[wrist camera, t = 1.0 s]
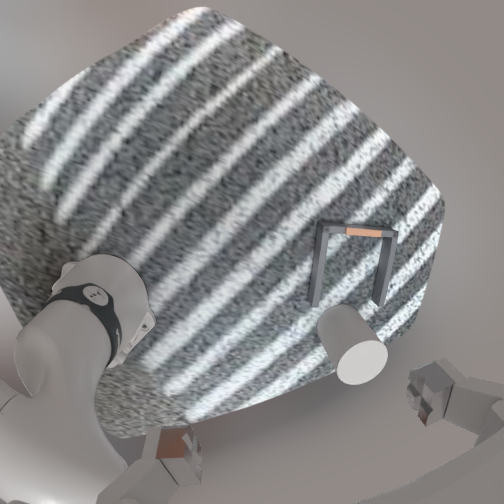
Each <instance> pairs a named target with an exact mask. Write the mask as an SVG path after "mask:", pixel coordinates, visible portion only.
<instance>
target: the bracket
mask: <svg viewBox="0 0 504 504" xmlns="http://www.w3.org/2000/svg"><path fill="white" fill-rule="evenodd" d="M329 233H341V234H346V235H359V236H372V237H383V243H382V249H381V255H380V260H379V265H378V271H377V276H376V281H375V285H374V290H373V295H372V299H371V300H372V301H373V302H374V303H375V304H376V305H377V306H378V307H383V306H384V302H385V298H386V294H387V289H388V285H389V280H390V276H391V271H392V266H393V261H394V256H395V250H396V245H397V239H398V233H399V232H398V231H396V230H394V229H391V228H386V227H376V226H365V225H354V224H342V223H330V222H318V225H317V234H316V242H315V250H314V257H313V265H312V272H311V279H310V286H309V293H308V301H309V303H310V305H311V306H312V307H318V305H319V299H320V293H321V286H322V280H323V273H324V267H325V260H326V253H327V246H328V238H329Z"/></svg>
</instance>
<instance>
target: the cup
mask: <svg viewBox="0 0 504 504" xmlns="http://www.w3.org/2000/svg"><path fill="white" fill-rule="evenodd" d="M317 334H318V336H319V338H320V340H321V342H322V344H323V346H324V348H325V350H326V352H327V354H328V356H329V358H330V360H331V362H332V364H333V366H334V368H335V371H336V372H337V374H338V377H339V378H340V380H341V381H343V382H344V383H346V384H352V385H356V384H361V383H365V382H367V381H369V380H371V379H372V378H374V377H375V376H376V375H378V374H379V373H380V371H381V370H382V369H383V367H384V366H385V364H386V361H387V356H388V353H387V349H386V347H385V346H384V344H383V343H382V342H381V341H380V339H379V338H378V337H377V336H376V334H375V333H374V332H373V331H372V329H371V328H370V327H369V326H368V324H367V323H366V322H365V321H364V319H363V318H362V317H361V316H360V314H359V313H358V312H357V311H356V310H355V309H354V308H353V307H352V306H350V305H345V304H340V305H335V306H333V307H331V308H329V309H327V310H326V311H325V312H324V313H323V314H322V315H321V317H320V318H319V320H318V323H317Z"/></svg>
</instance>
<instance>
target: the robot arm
mask: <svg viewBox="0 0 504 504" xmlns="http://www.w3.org/2000/svg"><path fill="white" fill-rule="evenodd" d="M52 290H53V292H52V296H51V297H50V298H49V299H48V300H47V301H46V303H45V304H44V305H43V307H42V309H41V311H40V313H38V314H37V315H36V316H35V317H34V318H33V319H32V320H31V321H30V322H29V323H28V324H27V325H26V326H25V327H24V328H23V329H22V330H21V331H20V332H19V334H18V336H17V338H16V341H15V345H14V360H15V365H16V368H17V370H18V374H19V376H20V378H21V381H22V382H23V384H24V386H25V387H26V389H27V390H28V392H29V393H30V395H31V396H32V398H28V397H26V396H24V395H22V394H20V393H18V392H17V391H15V390H14V389H13V388H11V387H10V386H8V385H7V384H6V383H4V382H3V381H1V379H0V504H167V503H168V501H169V500H170V499H171V497H172V496H173V494H174V493H175V492H176V491H177V489H178V488H179V486H186V485H199V484H201V476H202V475H201V474H202V470H201V468H200V467H199V464H200V463H201V462H202V450H201V446H200V443H199V441H198V439H197V438H195V437H194V436H193V435H194V434H193V433H194V431H193V429H192V427H191V425H180V426H163V427H150V428H149V430H148V433H147V437H146V441H145V445H144V449H143V454H142V458H141V459H138V460H136V462H134V463H133V464H132V465H131V466H130V467H129V468H128V466H127V464H126V463H125V461H124V459H123V458H122V457H121V456H120V455H119V454H118V453H117V452H116V451H115V449H114V448H113V447H112V445H111V444H110V442H109V441H108V439H107V438H106V436H105V434H104V432H103V430H102V428H101V426H100V424H99V421H98V418H97V414H96V410H95V393H96V389H97V386H98V383H99V381H100V378H101V376H102V373H103V371H104V369H105V368H106V367H108V368H114V367H115V366H116V365H117V364H119V365H121V364H122V363H123V362H124V360H125V359H126V357H127V354H128V353H129V352H130V351H131V350H132V349H133V348H134V347H135V346H136V344H137V343H138V342H139V341H140V340H141V339H142V338H143V337H144V336H145V335H146V334H147V333H148V332H149V331H150V330H151V329H152V328H153V327H154V325H155V324H156V318H155V316H154V314H153V312H152V311H151V309H150V307H149V303H148V296H147V291H146V288H145V285H144V283H143V281H142V279H141V277H140V276H139V274H138V273H137V272H136V271H135V270H134V269H133V268H132V267H131V266H130V265H129V264H128V263H126V262H125V261H123V260H122V259H120V258H117V257H115V256H111V255H106V254H98V255H93V256H90V257H88V258H86V259H84V260H82V261H79V262H67V263H66V264H65V265H64V266H63V268H62V273H61V278H60V279H59V280H58V281H57V282H56V283H55V284H54V285H53V287H52ZM143 324H145V325H146V326H147V327H145V326H143ZM408 379H409V380H410V382H411V383H410V384H409V385H408V387H407V399H408V402H409V404H410V406H411V407H412V409H415V410H418V417H419V418H420V420H421V421H422V423H423V424H424V425H425V427H426V426H428V425H430V424H433V423H435V422H437V421H439V420H441V419H443V418H444V420H446V421H448V422H450V423H453V424H455V425H457V426H459V427H462V428H464V429H466V430H468V431H471V432H473V433H475V434H477V435H479V436H478V438H477V440H476V442H475V444H474V448H472V449H470V450H469V451H467V452H466V453H464V454H462V455H461V456H459V457H457V458H455V459H454V460H452V461H450V462H449V463H447V464H445V465H443V466H441V467H439V468H437V469H435V470H433V471H431V472H429V473H427V474H425V475H423V476H421V477H419V478H417V479H415V480H412V481H410V482H408V483H406V484H403V485H401V486H399V487H396V488H394V489H392V490H389V491H387V492H384V493H381V494H379V495H377V496H373V497H371V498H368V499H365V500H362V501H359V502H356V503H353V504H504V385H503V384H499V383H494V382H490V381H485V380H481V379H477V378H473V377H467V378H466V377H465V376H464V375H463V374H462V373H461V372H460V371H459V370H458V369H457V368H456V367H455V366H454V365H452V363H450V362H449V361H448V360H447V359H446V358H445V357H441V358H439V359H437V360H434V361H432V362H430V363H428V364H426V365H423V366H421V367H418V368H416V369H414V370H411V371H410V373H409V378H408Z"/></svg>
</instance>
